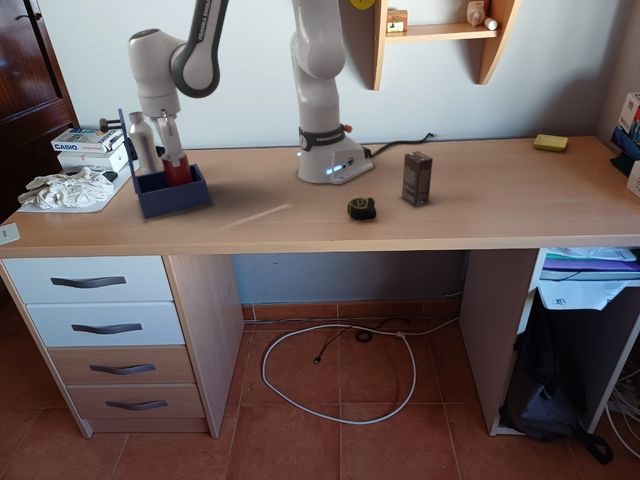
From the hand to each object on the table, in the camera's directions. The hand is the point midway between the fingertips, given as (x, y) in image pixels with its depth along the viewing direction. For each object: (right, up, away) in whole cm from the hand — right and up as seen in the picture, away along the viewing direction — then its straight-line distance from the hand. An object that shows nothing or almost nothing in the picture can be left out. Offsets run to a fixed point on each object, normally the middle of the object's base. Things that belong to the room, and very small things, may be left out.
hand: (173, 159), depth 114 cm
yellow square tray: (+109, +8, +25) cm, 112 cm away
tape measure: (+48, -15, -5) cm, 51 cm away
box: (+62, -11, +1) cm, 63 cm away
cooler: (-1, -11, +6) cm, 12 cm away
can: (+1, -9, +6) cm, 11 cm away
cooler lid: (-9, +1, -5) cm, 10 cm away
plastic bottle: (-12, -3, +20) cm, 23 cm away
